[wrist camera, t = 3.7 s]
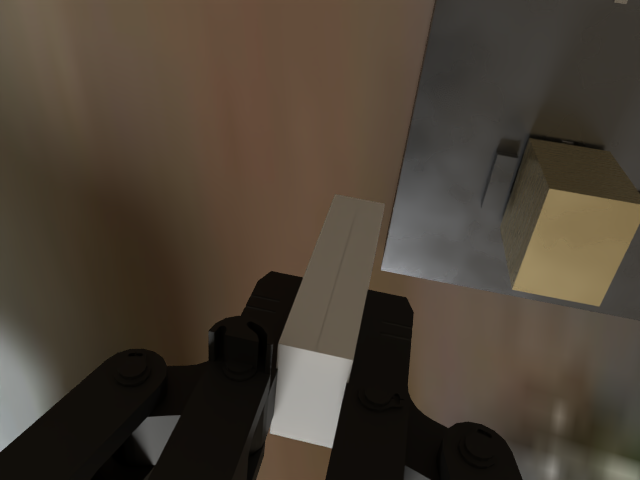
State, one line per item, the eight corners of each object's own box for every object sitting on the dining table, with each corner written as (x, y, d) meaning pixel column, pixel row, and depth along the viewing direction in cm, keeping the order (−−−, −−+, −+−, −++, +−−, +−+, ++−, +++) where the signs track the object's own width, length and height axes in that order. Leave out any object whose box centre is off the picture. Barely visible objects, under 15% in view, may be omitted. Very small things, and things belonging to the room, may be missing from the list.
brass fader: (499, 227, 23) (512, 289, 19) (529, 138, 21) (549, 188, 17) (572, 240, 23) (599, 306, 19) (610, 151, 21) (648, 205, 17)
